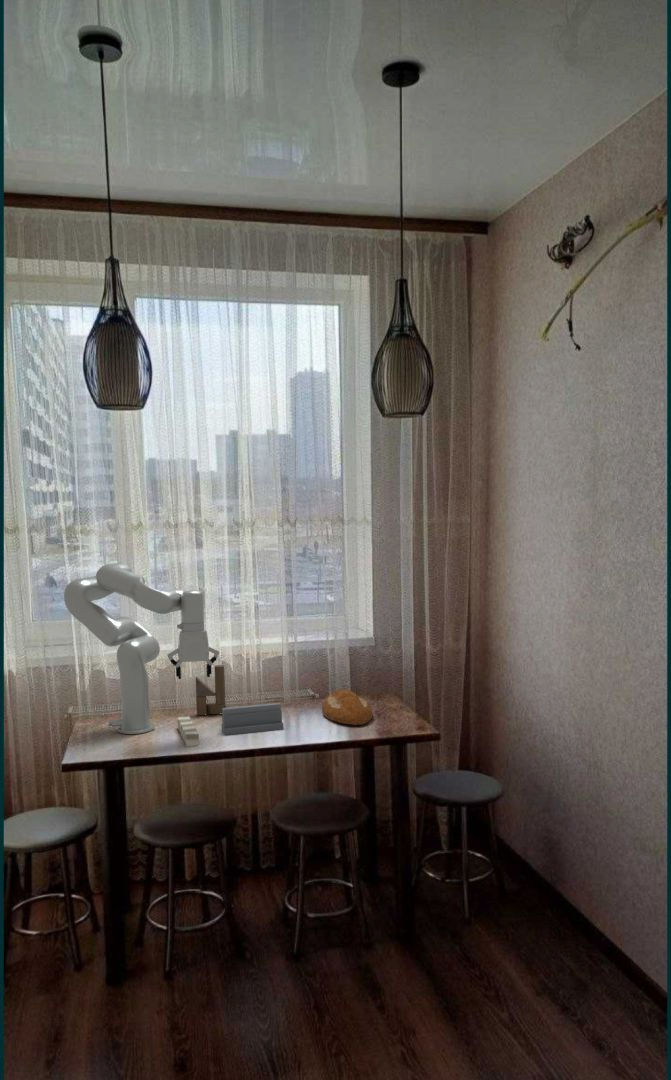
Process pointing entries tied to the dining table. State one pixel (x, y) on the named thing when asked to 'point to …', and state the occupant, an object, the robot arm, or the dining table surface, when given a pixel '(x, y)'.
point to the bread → (347, 708)
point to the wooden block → (211, 694)
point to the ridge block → (252, 719)
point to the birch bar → (188, 731)
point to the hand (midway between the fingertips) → (193, 677)
